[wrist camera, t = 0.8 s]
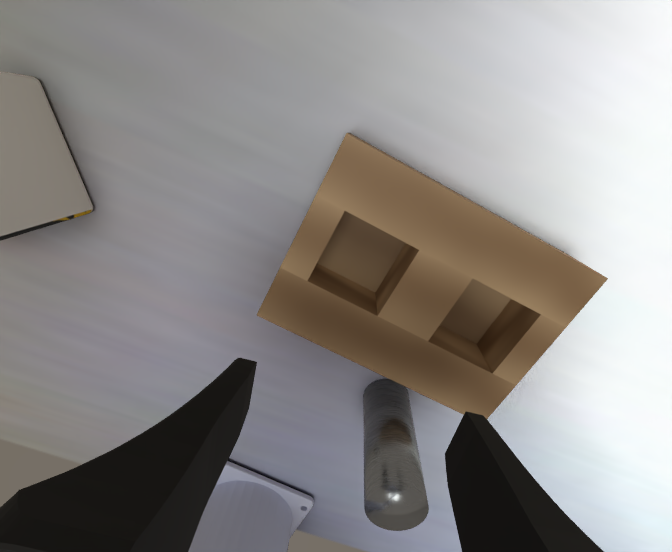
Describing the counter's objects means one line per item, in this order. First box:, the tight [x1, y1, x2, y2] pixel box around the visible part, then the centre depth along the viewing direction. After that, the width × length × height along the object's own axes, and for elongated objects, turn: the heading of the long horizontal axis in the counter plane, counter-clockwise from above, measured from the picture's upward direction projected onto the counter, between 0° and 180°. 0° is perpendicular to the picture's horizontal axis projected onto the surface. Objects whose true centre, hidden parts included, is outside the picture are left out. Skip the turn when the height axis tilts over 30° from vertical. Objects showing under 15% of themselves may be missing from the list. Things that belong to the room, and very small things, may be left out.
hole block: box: [257, 133, 608, 419], centre depth 21 cm, size 10×14×4 cm
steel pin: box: [363, 379, 429, 531], centre depth 22 cm, size 3×3×8 cm
